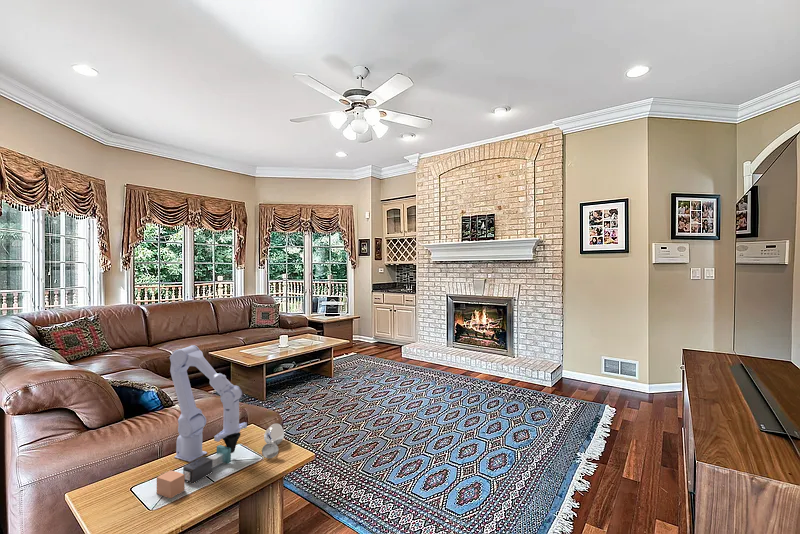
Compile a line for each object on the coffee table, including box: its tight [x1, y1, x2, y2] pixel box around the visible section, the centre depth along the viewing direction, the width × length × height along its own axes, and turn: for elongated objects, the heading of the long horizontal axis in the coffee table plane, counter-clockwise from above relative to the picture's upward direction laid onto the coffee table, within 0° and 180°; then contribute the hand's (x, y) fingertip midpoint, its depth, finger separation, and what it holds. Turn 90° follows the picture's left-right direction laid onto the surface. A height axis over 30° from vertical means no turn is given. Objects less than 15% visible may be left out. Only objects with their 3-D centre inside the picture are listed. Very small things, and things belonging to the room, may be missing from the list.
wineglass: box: [261, 423, 285, 459], centre depth 160 cm, size 8×8×18 cm
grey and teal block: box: [184, 444, 232, 481], centre depth 141 cm, size 6×16×6 cm, turn 157°
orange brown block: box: [156, 469, 186, 499], centre depth 128 cm, size 7×5×6 cm
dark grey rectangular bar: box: [182, 456, 213, 484], centre depth 138 cm, size 5×8×5 cm, turn 157°
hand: (231, 452), depth 152 cm, fingers closed
